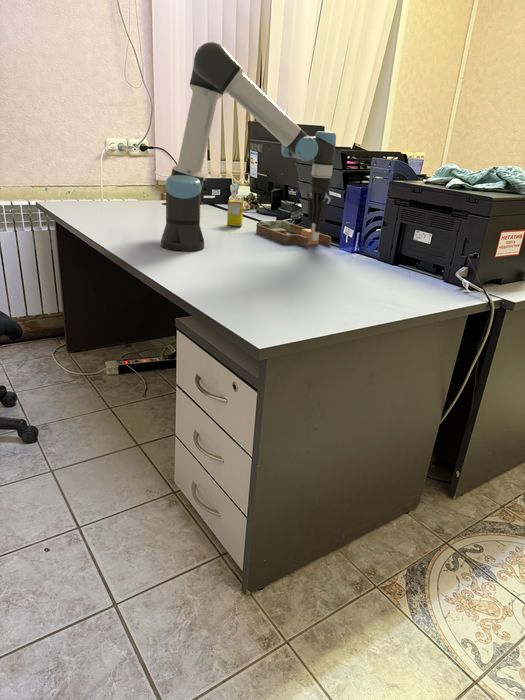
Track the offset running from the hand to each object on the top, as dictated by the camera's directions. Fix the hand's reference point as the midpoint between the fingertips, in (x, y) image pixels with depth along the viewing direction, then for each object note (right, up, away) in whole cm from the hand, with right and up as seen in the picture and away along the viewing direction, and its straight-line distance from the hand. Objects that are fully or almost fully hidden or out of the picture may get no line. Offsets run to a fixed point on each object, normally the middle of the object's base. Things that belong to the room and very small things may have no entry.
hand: (314, 239), depth 196 cm
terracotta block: (-2, -1, +3) cm, 4 cm away
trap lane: (-10, +3, +10) cm, 15 cm away
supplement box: (-33, +11, +25) cm, 42 cm away
